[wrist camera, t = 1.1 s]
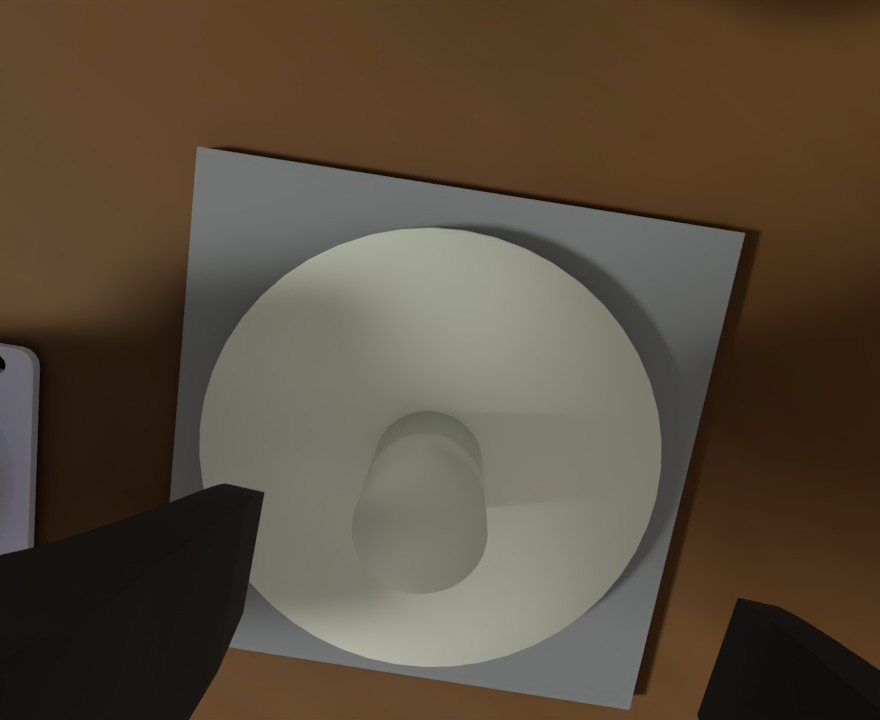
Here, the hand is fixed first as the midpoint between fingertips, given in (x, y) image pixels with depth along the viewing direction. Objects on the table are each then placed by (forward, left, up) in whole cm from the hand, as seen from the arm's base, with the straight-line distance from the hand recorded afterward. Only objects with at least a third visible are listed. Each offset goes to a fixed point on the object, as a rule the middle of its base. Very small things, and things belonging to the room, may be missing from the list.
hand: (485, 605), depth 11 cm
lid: (-1, -1, -9) cm, 9 cm away
